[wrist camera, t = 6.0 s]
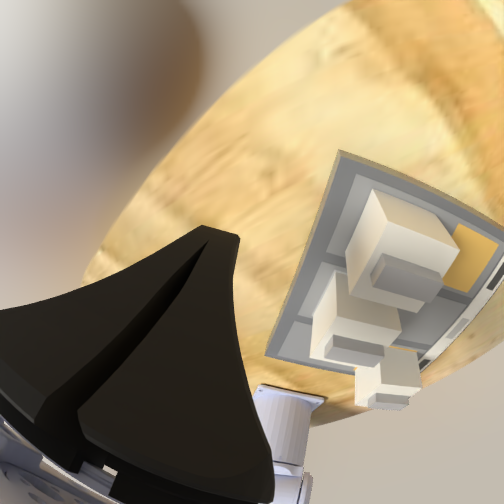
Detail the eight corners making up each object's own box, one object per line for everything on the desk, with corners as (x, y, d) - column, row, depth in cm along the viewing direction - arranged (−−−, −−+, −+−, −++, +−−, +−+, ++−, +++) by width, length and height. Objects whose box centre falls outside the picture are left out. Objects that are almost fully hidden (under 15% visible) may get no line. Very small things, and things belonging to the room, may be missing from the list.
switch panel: (407, 370, 22) (408, 383, 21) (267, 342, 23) (264, 356, 22) (515, 234, 12) (525, 246, 11) (338, 149, 13) (341, 156, 12)
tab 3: (391, 376, 20) (394, 416, 17) (355, 370, 21) (354, 413, 17) (416, 352, 18) (423, 396, 15) (378, 344, 18) (381, 393, 15)
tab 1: (403, 270, 14) (420, 324, 11) (344, 252, 15) (350, 307, 11) (434, 213, 12) (466, 261, 8) (372, 188, 12) (392, 231, 9)
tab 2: (364, 328, 18) (367, 379, 14) (313, 315, 18) (308, 368, 14) (392, 288, 15) (404, 343, 12) (335, 271, 15) (336, 328, 12)
